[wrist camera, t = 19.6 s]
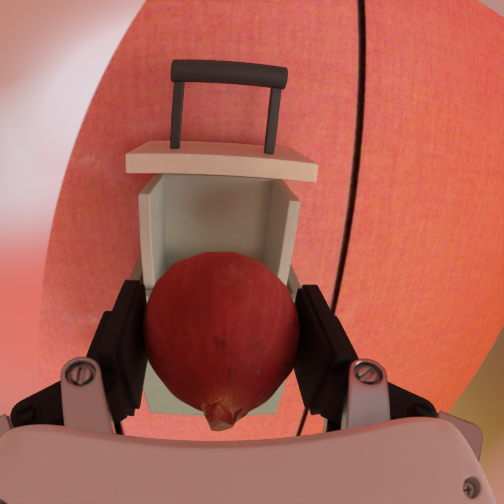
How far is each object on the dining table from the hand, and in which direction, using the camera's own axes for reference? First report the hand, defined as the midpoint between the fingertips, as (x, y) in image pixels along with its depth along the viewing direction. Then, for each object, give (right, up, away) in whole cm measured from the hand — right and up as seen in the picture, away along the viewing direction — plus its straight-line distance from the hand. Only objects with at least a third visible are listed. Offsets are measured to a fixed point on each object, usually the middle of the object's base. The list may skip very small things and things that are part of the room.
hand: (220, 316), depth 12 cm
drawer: (-2, +8, +12) cm, 15 cm away
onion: (0, +1, +3) cm, 3 cm away
